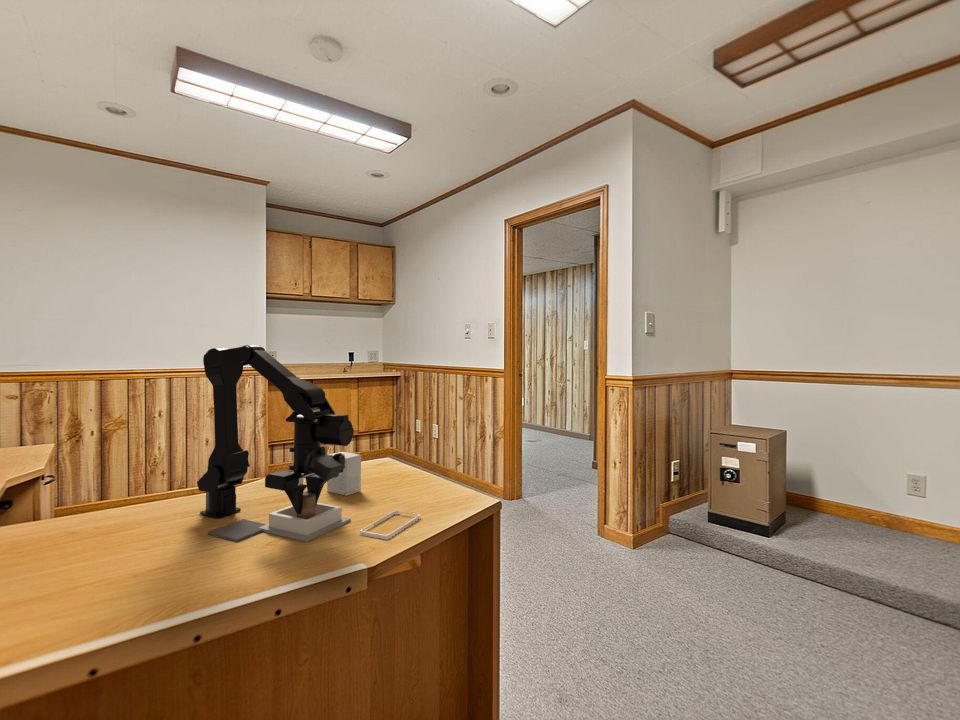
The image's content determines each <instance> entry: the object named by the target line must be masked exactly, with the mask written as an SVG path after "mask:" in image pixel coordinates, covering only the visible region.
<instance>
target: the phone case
mask: <svg viewBox="0 0 960 720" xmlns="http://www.w3.org/2000/svg"><path fill="white" fill-rule="evenodd" d="M401 513H402V514H408V515H412V516H413V515H414V516H415V517H414V518H411V519H409V521H407V522H406V523H404V524H402V525H401V526H399V527H398V528H396V529H394V530H393V531H391V532H390V533H388V534H381V533H377V532H371V531H366V530H367V529H369V528H370V527H372V526H377V525H379V524H381V523H382V522H384V521H386V520H388V519H389V518H391V517H392V515H393V516H394V514H395V515H398V514H399V515H400V514H401ZM387 518H388V519H387ZM418 519H419V520H420V519H421V514H419V513H413V512H408V511H402V510H393V511H391V512H389V513H387V514H386V515H384V516H382V517H380V518H379V519H377V520H375V521H373V522H372V523H370V524H368V525H366V526H364V527H362V528H361V529H360V530H359V535H360V536H365V537H371V538H375V539H380V538H381V539H382V540H385V539H386V540H390V539H391V538H392V536H393V537H394V536H395V534H396V535H397V534H399V533H400V532H402V531H403V530H405V529H406V527H407V528H408V527H410V526H412V525H413V524H414V523H416V522H418V521H419V520H418ZM415 521H416V522H415ZM412 523H413V524H412ZM409 525H410V526H409ZM404 528H405V529H404ZM398 532H399V533H398ZM389 538H390V539H389Z"/></svg>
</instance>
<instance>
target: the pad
mask: <svg viewBox="0 0 960 720" xmlns="http://www.w3.org/2000/svg"><path fill="white" fill-rule="evenodd" d="M266 524H267V523H262V522H257V521H254V520H249V519H245V518H243V519H239V520H236V521H233V522H231V523H229V524H226V525H223V526H220V527H216V528H215V529H212V530H209V531H207V535H209V536H213V537H215V538H220V539H225V540H229V541H232V542H236V543H238V542H240V541H244V540H246V539H248V538H250V537H253V536H255V535H258V534H260V533H264V532H263V529H260V528H258V527H261V526H264V525H266Z"/></svg>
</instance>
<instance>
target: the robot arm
mask: <svg viewBox="0 0 960 720" xmlns="http://www.w3.org/2000/svg"><path fill="white" fill-rule="evenodd" d="M202 358H203V360H202V362H203V367H204V374H205V376H206V378H207V379H208V380H209V382H210V384H211V385H212V390H213V391H212V392H213V393H212V394H213V418H214V419H213V420H214V423H213V424H214V448H213V450H212V452H211V454H210V455H209V457H208V463H207V471H206V472H205V473H203V474H202V476H201V477H200V478H199V479H198V481H196V484H197V489H198V491H200V492H204V493H205V510H202V511H199V515H203V516H205V517H210V518H211V517H212V518H214V519H218V518H222V517H227V516H228V515H232V514H235V513H237V512H240V511H242V509H241V507H237V493H236V486H238V485H242V484H243V481H244V478H245V476H246V475H247V473H248V467H249V468H250V466H251V465H250V461H249V455H250V453H249V450H243V448H242V447H241V445H240V442H239V426H238V424H239V423H238V420H239V419H238V399H237V398H238V395H237V393H238V392H237V384H238V383H239V381H240V379H241V376H242V375H243V372H244V371H243V370H244V366H248V365H249V366H250V367H251V368H252V369H253V370H255V371H256V372H257V373H258V374H259V375H260V376H262V377H263V378H265V380H267V381H268V382H269V383H270V384H271V385H272V386H274V387H275V388H276V389H278V390H279V391H280V393H281V394H282V397H283V400H284V402H285V403H286V404H287V405H288V407H289V408H290V409H291V410H292V413H291V414H290V415H289V416H288V417H286V418H285V422H287V423H293V446H290V447H289V452H290V453H293V459H292V460H293V464H290V465H288V470H289V471H286V470H285V471H284V470H278V471H275V472H271V473H268V474H267V475H266V476H265V479H264V488H267V489H272V490H278V491H282V492H285V494H286V496H287V497H288V499H289V501H290V503H291V505H293V507H294V509H295V511H296V513H297V514H301V512H302V503H303V492H305V491H306V490H307V491H312V492H315V493H316V502H315V507H316V504H317V502H318V501H319V498H320V496H321V493H322V491H323V488H324V486H325V484H327V481H328V480H330V479H332V478H334V477H335V478H336V477H338V475H339V473H341V472H343V469H344V468H345V455H343V454H342V453H338V452H337V453H338V454H335V455H334V456H333V457H332V455H330V456H328V454H327V453H326V448H325V446H323V445H331V446H343V447H348V446H349V445H350V444H351V442H352V441H353V439H354V438H353V437H354V432H355V428H354V426H353V423H352V422H351V420H349V414H336V412H335V410H334V409H333V408H332V406H331V404H330V402H329V401H328V399H327V398H326V392H325V390H324V389H323V388H322V387H320V386H318V385H316V384H315V383H312V382H310V381H308V380H304V379H302V378H300V377H298V376H296V374H295V373H293V372H291V371H290V370H289V369H288V368H287V367H285V366H284V365H283V364H282V363H280V362H279V361H278V360H277V359H276V358H275V357H273V356H272V355H271V354H270V353H268V352H267V351H266V349H265V348H264V347H263V346H261V345H259V344H258V345H255V344H245V345H243V346H242V345H241V346H238V347H233V348H229V347H228V348H227V347H226V348H223V347H222V348H219V347H218V348H217V347H214V348H210V349H208V350H207V351H206V353H204V355H203V357H202ZM290 471H291V472H290ZM292 471H293V472H292ZM304 479H305V484H304Z"/></svg>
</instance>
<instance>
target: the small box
mask: <svg viewBox="0 0 960 720" xmlns="http://www.w3.org/2000/svg"><path fill="white" fill-rule="evenodd" d="M338 453H342V454H343V455H345V468H344V469H343V472H341V473H339V475H338V477H336V478H335V477H334V478H332V479H330V480H328V481H327V482H326V491H327V492H328V493H333V494H337V495H341V496H350V495H353V494H355V493H359V492H361V491H362V455H361V454H357V453H352V452H346V451H339V452H334V453H329V454H327V455H328V456H330V455H332V457H333V456H334V455H335V454H338Z"/></svg>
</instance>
